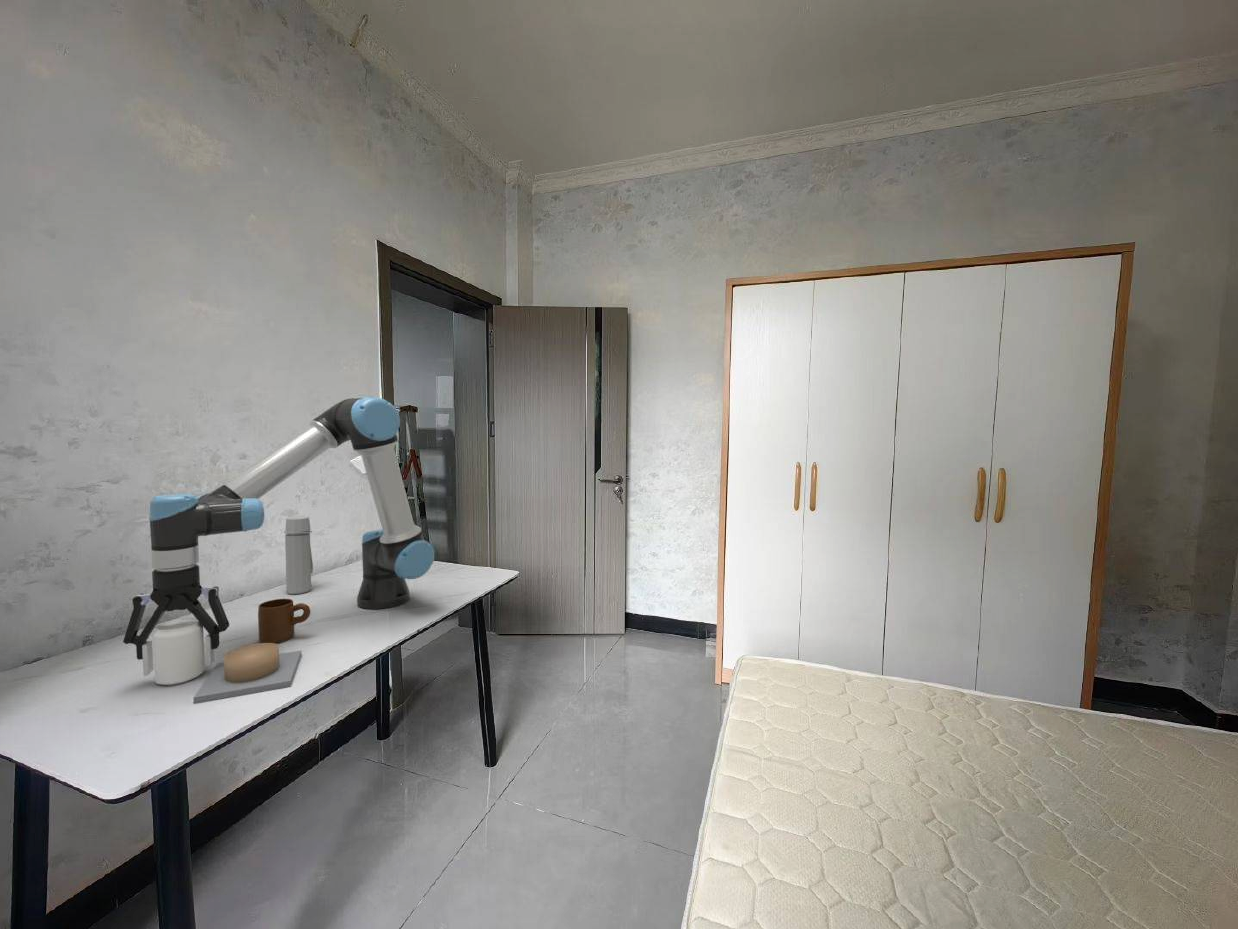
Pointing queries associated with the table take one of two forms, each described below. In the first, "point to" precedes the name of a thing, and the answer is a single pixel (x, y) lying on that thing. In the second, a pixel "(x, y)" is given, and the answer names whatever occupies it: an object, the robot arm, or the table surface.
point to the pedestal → (249, 672)
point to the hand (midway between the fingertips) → (180, 668)
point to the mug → (279, 619)
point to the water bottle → (298, 555)
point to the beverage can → (178, 651)
